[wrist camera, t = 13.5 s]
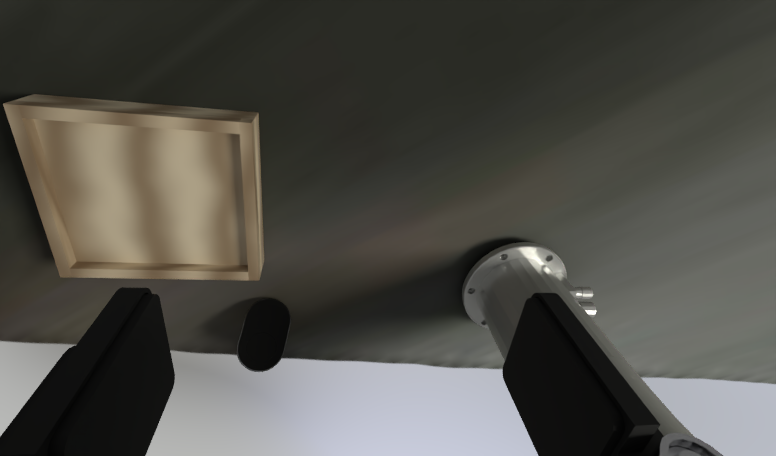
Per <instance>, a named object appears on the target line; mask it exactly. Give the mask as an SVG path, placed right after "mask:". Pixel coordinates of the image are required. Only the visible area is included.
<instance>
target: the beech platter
mask: <svg viewBox="0 0 776 456" xmlns="http://www.w3.org/2000/svg"><path fill="white" fill-rule="evenodd" d="M3 106H4V109H5V112H6V115H7V118H8V121H9V124H10V127H11V130H12V133H13V136H14V139H15V142H16V145H17V148H18V151H19V154H20V157H21V160H22V163H23V166H24V169H25V172H26V175H27V178H28V181H29V184H30V187H31V190H32V193H33V196H34V199H35V202H36V205H37V208H38V211H39V214H40V217H41V220H42V223H43V226H44V229H45V232H46V235H47V238H48V241H49V244H50V247H51V250H52V253H53V256H54V259H55V262H56V265H57V268H58V271H59V274H60V277H80V278H139V279H198V280H257V281H259V279H260V275H261V271H262V267H263V263H264V243H263V217H262V192H261V166H260V141H259V115H258V112H245V111H233V110H221V109H209V108H197V107H185V106H172V105H160V104H148V103H136V102H124V101H112V100H99V99H87V98H75V97H63V96H51V95H38V94H33V95H30V96H26V97H23V98H20V99H17V100H13V101H10V102H7V103H4V104H3Z"/></svg>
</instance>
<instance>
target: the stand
mask: <svg viewBox="0 0 776 456" xmlns="http://www.w3.org/2000/svg"><path fill="white" fill-rule="evenodd" d="M290 323H291V316H290V312H289V310H288V308H287V307H286V306H285V305H284V304H283V303H282V302H280V301H278V300H275V299H270V298H269V299H262V300H259V301H257V302H256V303H254V304H253V305H252V306H251V307H250V308H249V310H248V312H247V314H246V317H245V320H244V324H243V327H242V331H241V334H240V337H239V341H238V345H237V356H238V359H239V361H240V362H241V364H242V365H243V366H244V367H245V368H247V369H249V370H251V371H255V372H263V371H267V370H269V369H271V368H273V367H274V366H275V365H277V363H278V362H279V361H280V360H281V358H282V356H283V353H284V350H285V345H286V341H287V337H288V332H289V328H290ZM247 342H248V343H247Z"/></svg>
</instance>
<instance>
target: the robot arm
mask: <svg viewBox="0 0 776 456" xmlns="http://www.w3.org/2000/svg"><path fill="white" fill-rule="evenodd" d="M592 296H593V291H592V289H591V288H590V287H573V286H572V285H571V284H570V283H569V282H568V281H567V273H566V269H565V266H564V264H563V262H562V260H561V259H560V258H559V257H558V256H557V255H556V253H554V252H553V251H552V250H551V249H549V248H548V247H545V246H543V245H541V244H537V243H532V242H519V243H512V244H509V245H505V246H502V247H500V248H498V249H495V250H493V251H491V252H490V253H488V254H487V255H485V256H484V257H483V258H481V259H480V260H479V261H478V262H477V263H476V264H475V265H474V266H473V268H472V269H471V270H470V271H469V273H468V275H467V277H466V279H465V281H464V284H463V288H462V301H463V305H464V307H465V310H466V312H467V314H468V315H469V317H470V318H471V319H472V320H473V321H474V322H475V323H476V324H478V325H479V326H481V327H483V328H486V329H489V330H490V331H491V333H492V336H493V338H494V340H495V342H496V344H497V346H498V348H499V350H500V352H501V354H502V356H503V358H504V360H505V363H504V366H503V378H504V381H505V383H506V386H507V388H508V390H509V392H510V394H511V397H512V399H513V401H514V403H515V405H516V407H517V410H518V412H519V414H520V416H521V418H522V421H523V422H524V425H525V427H526V429H527V431H528V434H529V436H530V438H531V440H532V442H533V445H534V447H535V449H536V451H537V453H538V455H539V456H723V455H722V454H720V453H719V452H718V451H716V450H715V449H714V448H713V447H711V446H710V445H708V444H706V443H704V442H703V441H701V440H700V439H697V438H695V437H694V436H693V435H692V434H691V433H690V432H689V431H688V430H687V429H686V428H685V427H684V426H683V425H682V424H681V423H680V422H679V421H678V420H677V419H676V418H675V416H674V415H673V414H672V413H671V412H670V411H669V410H668V408H667V407H666V406H665V405H664V404H663V403H662V402H661V401H660V399H659V398H658V397H657V396H656V395H655V394H654V393H653V392H652V390H651V389H650V388H649V387H648V386H647V385H646V383H645V382H644V381H643V380H642V379H641V377H640V376H639V375H638V374H637V373H636V371H635V370H634V369H633V368H632V367H631V365H630V364H629V363H628V362H627V361H626V360H625V358H624V357H623V356H622V355H621V354H620V352H619V351H618V350H617V349H616V347H615V346H614V345H613V344H612V343H611V341H610V340H609V339H608V338H607V337H606V335H605V334H604V333H603V332H602V331H601V329H600V328H599V327H598V326H597V325H596V323H595V322H594V321H593V320H592V318H593V317H594V316H595V315H596V307H595V305H594V304H593V303H592V302H577V300H576V299H575V298H579V299H591V298H592ZM174 376H175V374H174V368H173V363H172V358H171V353H170V348H169V343H168V338H167V333H166V328H165V323H164V318H163V313H162V308H161V303H160V298H159V296H158V295H157V294H152V293H151V291H150V289H149V288H120V289H118V290H117V291H116V293H115V294H114V295H113V297H112V298H111V299H110V301H109V302H108V304H107V305H106V306H105V308H104V309H103V310H102V312H101V313H100V314H99V316H98V317H97V318H96V320H95V321H94V322H93V324H92V325H91V326H90V328H89V329H88V330H87V332H86V333H85V334H84V336H83V337H82V338H81V340H80V341H79V342H78V344H77V345H76V346H73V347H71V348H69V349H68V350H67V351H66V352H65V353H64V354H63V355H62V357H61V358H60V359H59V360H58V362H57V363H56V364H55V366H54V367H53V368H52V370H51V371H50V372H49V374H48V375H47V376H46V378H45V379H44V380H43V381H42V383H41V384H40V385H39V387H38V388H37V389H36V391H35V392H34V393H33V395H32V396H31V397H30V399H29V400H28V401H27V403H26V404H25V405H24V406H23V408H22V409H21V410H20V412H19V413H18V415H17V416H16V417H15V418H14V419H13V421H12V422H11V423H10V425H9V426H8V428H7V429H6V430H5V431H4V433H3V434H2V435H1V437H0V456H145V455H146V452H147V450H148V447H149V445H150V443H151V440H152V438H153V435H154V433H155V431H156V428H157V426H158V423H159V421H160V418H161V416H162V413H163V411H164V409H165V406H166V403H167V401H168V399H169V396H170V394H171V391H172V389H173V385H174V379H175V377H174Z"/></svg>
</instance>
